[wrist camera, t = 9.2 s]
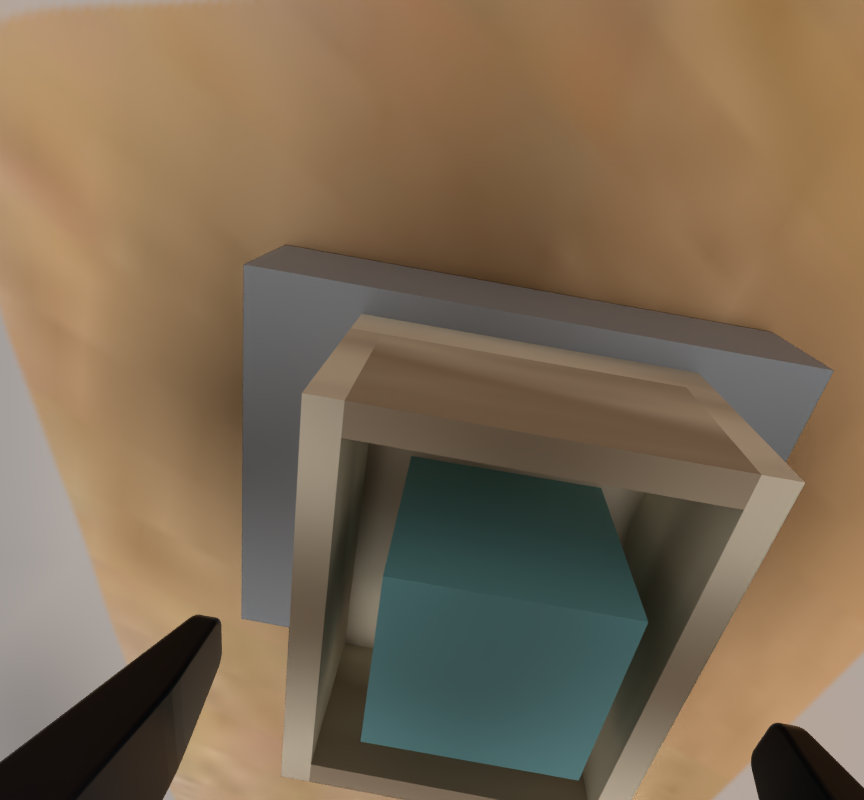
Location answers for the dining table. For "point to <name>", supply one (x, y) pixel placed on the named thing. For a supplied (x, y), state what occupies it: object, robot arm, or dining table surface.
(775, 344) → the block
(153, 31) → the dining table surface
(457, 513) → the cargo block
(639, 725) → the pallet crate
